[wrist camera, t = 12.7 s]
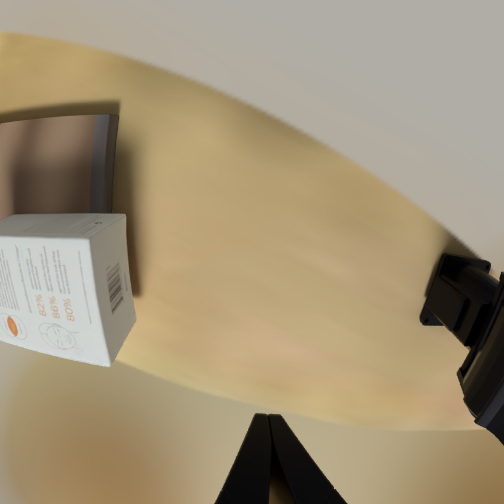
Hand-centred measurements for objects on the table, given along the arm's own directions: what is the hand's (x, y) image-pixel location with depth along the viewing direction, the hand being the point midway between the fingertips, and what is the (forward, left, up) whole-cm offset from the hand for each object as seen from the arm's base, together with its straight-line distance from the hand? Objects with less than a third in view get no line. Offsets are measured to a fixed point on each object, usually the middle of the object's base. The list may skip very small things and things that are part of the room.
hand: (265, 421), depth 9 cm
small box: (+8, +1, -9) cm, 12 cm away
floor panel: (+17, -4, -13) cm, 22 cm away
